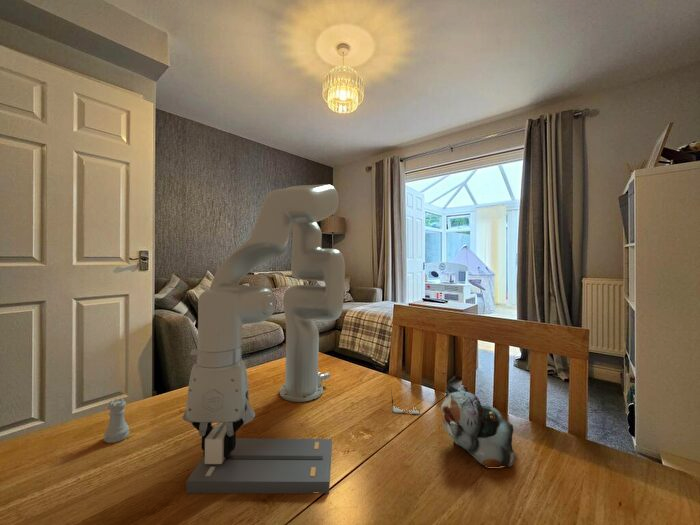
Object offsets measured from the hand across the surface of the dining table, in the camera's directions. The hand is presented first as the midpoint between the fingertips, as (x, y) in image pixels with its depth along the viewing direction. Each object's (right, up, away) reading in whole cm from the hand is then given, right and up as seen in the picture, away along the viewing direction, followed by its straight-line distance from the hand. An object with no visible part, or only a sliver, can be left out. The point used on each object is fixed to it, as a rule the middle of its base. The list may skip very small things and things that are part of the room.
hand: (218, 452), depth 57 cm
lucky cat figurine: (+52, -4, +7) cm, 52 cm away
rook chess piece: (-26, -3, +9) cm, 27 cm away
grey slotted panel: (+9, -3, 0) cm, 9 cm away
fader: (0, -1, 0) cm, 1 cm away
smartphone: (+40, -4, +29) cm, 49 cm away
